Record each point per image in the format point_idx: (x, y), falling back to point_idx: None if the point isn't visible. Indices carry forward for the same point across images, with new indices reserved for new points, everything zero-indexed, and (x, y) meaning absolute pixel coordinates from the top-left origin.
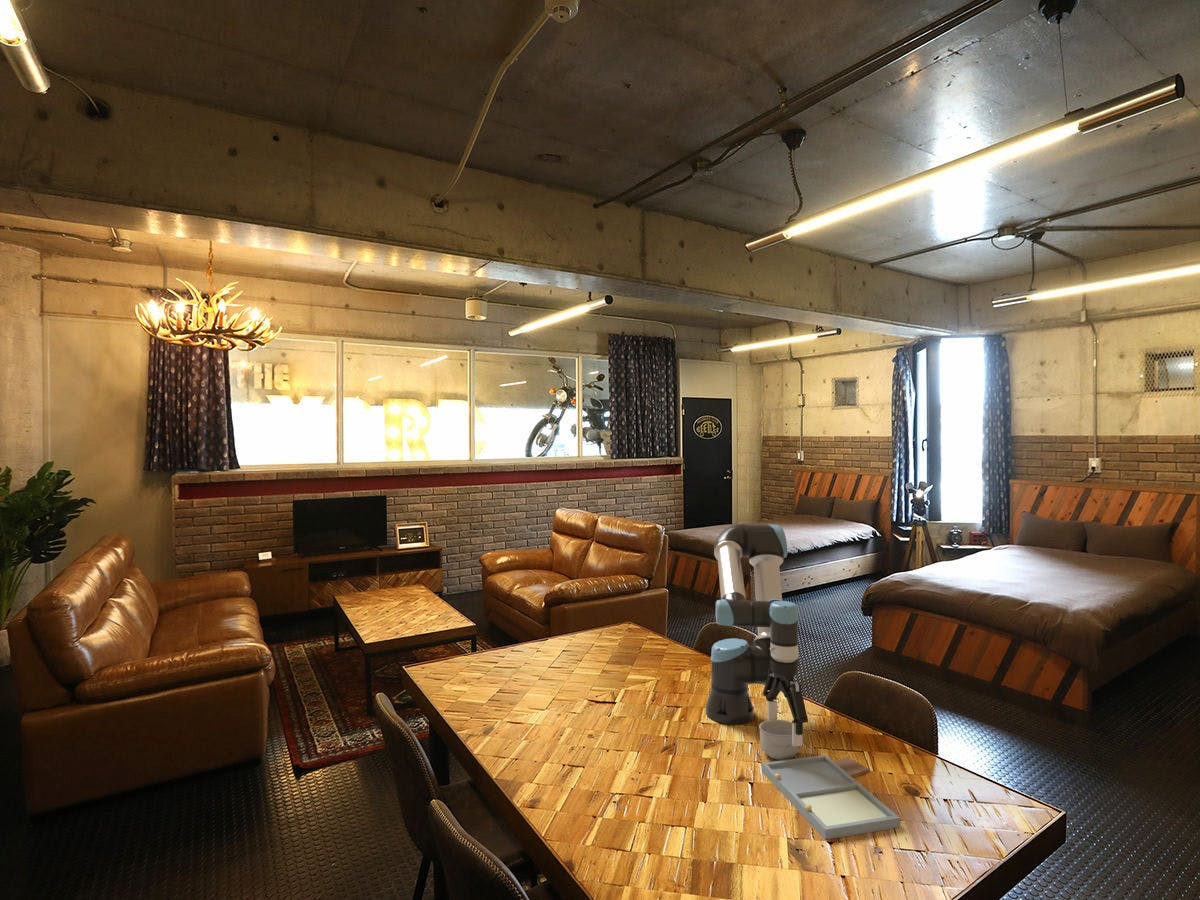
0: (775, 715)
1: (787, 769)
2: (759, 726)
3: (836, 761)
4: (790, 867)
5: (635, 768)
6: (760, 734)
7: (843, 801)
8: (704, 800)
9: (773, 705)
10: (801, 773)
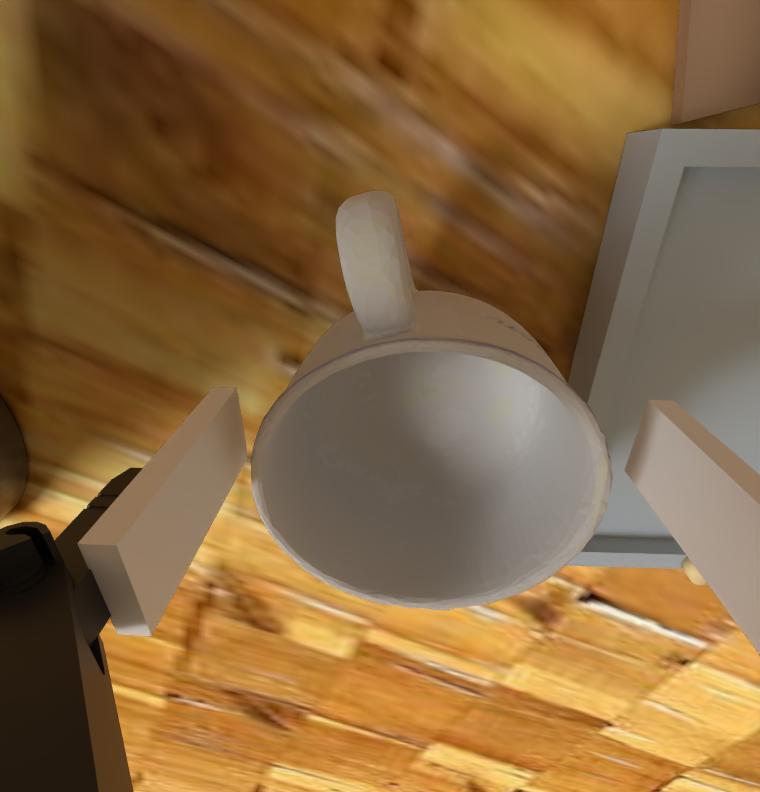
0: (207, 446)
1: (621, 460)
2: (352, 594)
3: (696, 30)
4: None
5: (369, 785)
6: (383, 561)
7: None
8: (602, 723)
9: (158, 546)
10: (698, 415)
